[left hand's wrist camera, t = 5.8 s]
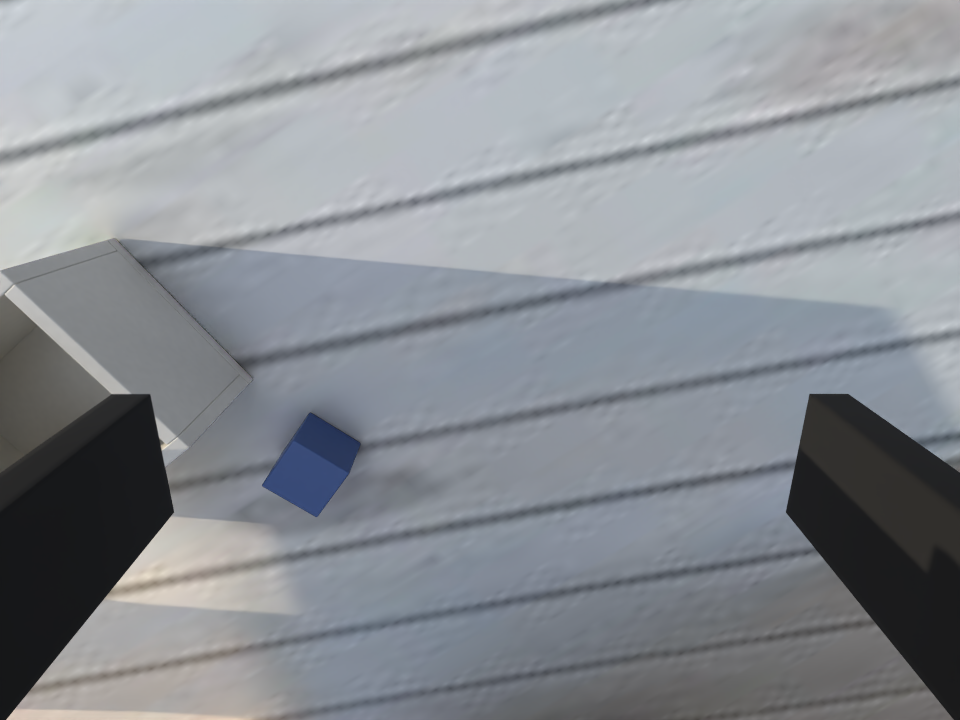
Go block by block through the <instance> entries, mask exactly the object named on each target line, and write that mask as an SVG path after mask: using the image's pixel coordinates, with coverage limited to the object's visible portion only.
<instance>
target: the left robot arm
mask: <svg viewBox="0 0 960 720" xmlns="http://www.w3.org/2000/svg"><path fill="white" fill-rule="evenodd" d="M173 513H174V510H173V505H172V500H171V495H170V490H169V485H168V480H167V475H166V470H165V465H164V460H163V455H162V450H161V445H160V440H159V435H158V430H157V425H156V420H155V415H154V410H153V405H152V400H151V395H150V394H111V395H110V396H108V397H107V398H106V399H104V400H103V401H101V402H100V403H98V404H97V405H96V406H94V407H93V408H91V409H90V410H89V411H87V412H86V413H84V414H83V415H81V416H80V417H79V418H77V419H76V420H74V421H73V422H71V423H70V424H69V425H67V426H66V427H64V428H63V429H62V430H60V431H59V432H57V433H56V434H54V435H53V436H52V437H50V438H49V439H47V440H46V441H45V442H43V443H42V444H40V445H39V446H37V447H36V448H35V449H33V450H32V451H30V452H29V453H28V454H26V455H25V456H23V457H22V458H20V459H19V460H18V461H16V462H15V463H13V464H12V465H10V466H9V467H8V468H6V469H5V470H3V471H2V472H1V473H0V720H6V719H7V718H8V717H9V715H10V714H11V713H12V712H13V710H14V709H15V708H16V707H17V706H18V704H19V703H20V702H21V701H22V699H23V698H24V697H25V696H26V694H27V693H28V692H29V691H30V689H31V688H32V687H33V686H34V685H35V683H36V682H37V681H38V680H39V678H40V677H41V676H42V675H43V673H44V672H45V671H46V670H47V669H48V667H49V666H50V665H51V664H52V662H53V661H54V660H55V659H56V657H57V656H58V655H59V654H60V652H61V651H62V650H63V649H64V648H65V646H66V645H67V644H68V643H69V641H70V640H71V639H72V638H73V636H74V635H75V634H76V633H77V631H78V630H79V629H80V628H81V627H82V625H83V624H84V623H85V622H86V620H87V619H88V618H89V617H90V615H91V614H92V613H93V612H94V610H95V609H96V608H97V607H98V606H99V604H100V603H101V602H102V601H103V599H104V598H105V597H106V596H107V594H108V593H109V592H110V591H111V589H112V588H113V587H114V586H115V585H116V583H117V582H118V581H119V580H120V578H121V577H122V576H123V575H124V573H125V572H126V571H127V570H128V569H129V567H130V566H131V565H132V564H133V562H134V561H135V560H136V559H137V557H138V556H139V555H140V554H141V552H142V551H143V550H144V549H145V548H146V546H147V545H148V544H149V543H150V541H151V540H152V539H153V538H154V536H155V535H156V534H157V533H158V531H159V530H160V529H161V528H162V527H163V525H164V524H165V523H166V522H167V520H168V519H169V518H170V517H171V515H172V514H173ZM786 513H787V514H788V515H789V517H790V518H791V519H792V520H793V522H794V523H795V524H796V525H797V527H798V528H799V529H800V530H801V531H802V533H803V534H804V535H805V536H806V538H807V539H808V540H809V541H810V543H811V544H812V545H813V546H814V548H815V549H816V550H817V551H818V552H819V554H820V555H821V556H822V557H823V559H824V560H825V561H826V562H827V564H828V565H829V566H830V567H831V569H832V570H833V571H834V572H835V573H836V575H837V576H838V577H839V578H840V580H841V581H842V582H843V583H844V585H845V586H846V587H847V588H848V589H849V591H850V592H851V593H852V594H853V596H854V597H855V598H856V599H857V601H858V602H859V603H860V604H861V606H862V607H863V608H864V609H865V610H866V612H867V613H868V614H869V615H870V617H871V618H872V619H873V620H874V622H875V623H876V624H877V625H878V627H879V628H880V629H881V630H882V631H883V633H884V634H885V635H886V636H887V638H888V639H889V640H890V641H891V643H892V644H893V645H894V646H895V648H896V649H897V650H898V651H899V652H900V654H901V655H902V656H903V657H904V659H905V660H906V661H907V662H908V664H909V665H910V666H911V667H912V669H913V670H914V671H915V672H916V673H917V675H918V676H919V677H920V678H921V680H922V681H923V682H924V683H925V685H926V686H927V687H928V688H929V689H930V691H931V692H932V693H933V694H934V696H935V697H936V698H937V699H938V701H939V702H940V703H941V704H942V706H943V707H944V708H945V709H946V710H947V712H948V713H949V714H950V715H951V717H952V718H953V719H954V720H960V473H959V472H958V471H957V470H955V469H954V468H952V467H951V466H950V465H948V464H947V463H945V462H944V461H942V460H941V459H940V458H938V457H937V456H935V455H934V454H932V453H931V452H930V451H928V450H927V449H925V448H924V447H923V446H921V445H920V444H918V443H917V442H915V441H914V440H913V439H911V438H910V437H908V436H907V435H906V434H904V433H903V432H901V431H900V430H898V429H897V428H896V427H894V426H893V425H891V424H890V423H889V422H887V421H886V420H884V419H883V418H881V417H880V416H879V415H877V414H876V413H874V412H873V411H871V410H870V409H869V408H867V407H866V406H864V405H863V404H862V403H860V402H859V401H857V400H856V399H854V398H853V397H852V396H850V395H849V394H810V395H809V400H808V405H807V410H806V415H805V420H804V425H803V430H802V435H801V440H800V445H799V450H798V455H797V460H796V465H795V470H794V475H793V480H792V485H791V490H790V495H789V500H788V505H787V510H786Z"/></svg>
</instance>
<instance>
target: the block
mask: <svg viewBox="0 0 960 720" xmlns="http://www.w3.org/2000/svg"><path fill="white" fill-rule="evenodd" d="M359 447H360V443H359V442H358V441H356V440H355V439H353V438H351V437H350V436H348V435H346V434H345V433H343V432H341V431H340V430H338V429H336V428H335V427H333V426H332V425H330V424H328V423H327V422H325V421H323V420H322V419H320V418H318V417H317V416H315V415H314V414H312V413H309V414H308V416H307V417H306V419H305V420H304V422H303V423H302V425H301V426H300V428H299V429H298V430H297V432H296V433H295V435H294V436H293V438H292V439H291V441H290V442H289V444H288V445H287V447H286V448H285V450H284V451H283V452H282V454H281V455H280V457H279V459H278V460H277V462H276V464H275V465H274V467H273V468H272V470H271V472H270V473H269V475H268V476H267V478H266V480H265V481H264V483H263V484H262V486H263V487H265V488H266V489H268V490H270V491H272V492H273V493H275V494H277V495H279V496H280V497H282V498H284V499H286V500H287V501H289V502H291V503H292V504H294V505H296V506H298V507H299V508H301V509H303V510H305V511H306V512H308V513H310V514H312V515H313V516H315V517H317V516H318V515H319V514H320V513H321V511H322V510H323V508H324V507H325V506H326V504H327V503H328V502H329V500H330V499H331V498H332V496H333V495H334V493H335V492H336V491H337V489H338V488H339V487H340V485H341V484H342V483H343V481H344V480H345V478H346V477H347V476H348V474H349V472H350V470H351V467H352V465H353V462H354V460H355V457H356V454H357V452H358V449H359Z"/></svg>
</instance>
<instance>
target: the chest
mask: <svg viewBox="0 0 960 720" xmlns="http://www.w3.org/2000/svg"><path fill="white" fill-rule="evenodd" d="M252 380H253V378H252V377H251V376H250V375H249V374H248V373H247V372H246V371H245V370H244V369H243V368H242V367H241V366H240V365H239V364H238V363H237V362H236V361H235V360H234V359H233V358H232V357H231V356H230V355H229V354H228V353H227V352H226V351H225V350H224V349H223V348H222V347H221V346H220V345H219V344H218V343H217V342H216V341H215V340H214V339H213V338H212V337H211V336H210V335H209V334H208V333H207V332H206V331H205V330H204V329H203V328H202V327H201V326H200V325H199V324H198V323H197V322H196V320H195V319H194V318H193V317H192V316H191V315H190V314H189V313H188V312H187V311H186V310H185V309H184V308H183V307H182V306H181V305H180V304H179V303H178V302H177V301H176V300H175V299H174V298H173V297H172V296H171V295H170V294H169V293H168V292H167V291H166V290H165V289H164V288H163V287H162V286H161V285H160V284H159V283H158V282H157V281H156V280H155V279H154V278H153V277H152V276H151V275H150V274H149V273H148V272H147V271H146V270H145V269H144V268H143V267H142V266H141V265H140V264H139V263H138V262H137V261H136V260H135V259H134V258H133V257H132V255H131V254H130V253H129V252H128V251H127V250H126V249H125V248H124V247H123V246H122V245H121V244H120V243H119V242H118V241H117V240H116V239H115V238H113V239H109V240H106V241H103V242H99V243H96V244H92V245H88V246H85V247H81V248H78V249H74V250H71V251H67V252H64V253H60V254H57V255H53V256H50V257H46V258H43V259H39V260H36V261H32V262H29V263H25V264H22V265H18V266H15V267H11V268H8V269H4V270H1V271H0V473H1V472H2V471H3V470H5V469H6V468H8V467H9V466H10V465H12V464H13V463H15V462H16V461H18V460H19V459H20V458H22V457H23V456H25V455H26V454H28V453H29V452H30V451H32V450H33V449H35V448H36V447H37V446H39V445H40V444H42V443H43V442H45V441H46V440H47V439H49V438H50V437H52V436H53V435H54V434H56V433H57V432H59V431H60V430H62V429H63V428H64V427H66V426H67V425H69V424H70V423H71V422H73V421H74V420H76V419H77V418H79V417H80V416H81V415H83V414H84V413H86V412H87V411H89V410H90V409H91V408H93V407H94V406H96V405H97V404H98V403H100V402H101V401H103V400H104V399H106V398H107V397H108V396H110V395H111V394H150V395H151V400H152V405H153V410H154V415H155V420H156V425H157V430H158V435H159V440H160V445H161V450H162V455H163V460H164V465H165V467H167V466H168V465H169V464H170V463H172V462H173V461H174V460H175V459H176V458H178V457H179V456H180V455H181V454H183V453H184V452H185V451H186V450H188V449H189V448H190V447H191V446H192V445H193V444H194V443H195V442H196V440H197V439H198V438H199V437H200V436H201V435H202V434H203V433H204V432H205V431H206V430H207V429H208V428H209V426H210V425H211V424H212V423H213V422H214V421H215V420H216V419H217V418H218V417H219V416H220V415H221V414H222V412H223V411H224V410H225V409H226V408H227V407H228V406H229V405H230V404H231V403H232V402H233V401H234V400H235V398H236V397H237V396H238V395H239V394H240V393H241V392H242V391H243V390H244V389H245V388H246V387H247V385H248V384H249V383H250V382H251V381H252Z"/></svg>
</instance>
